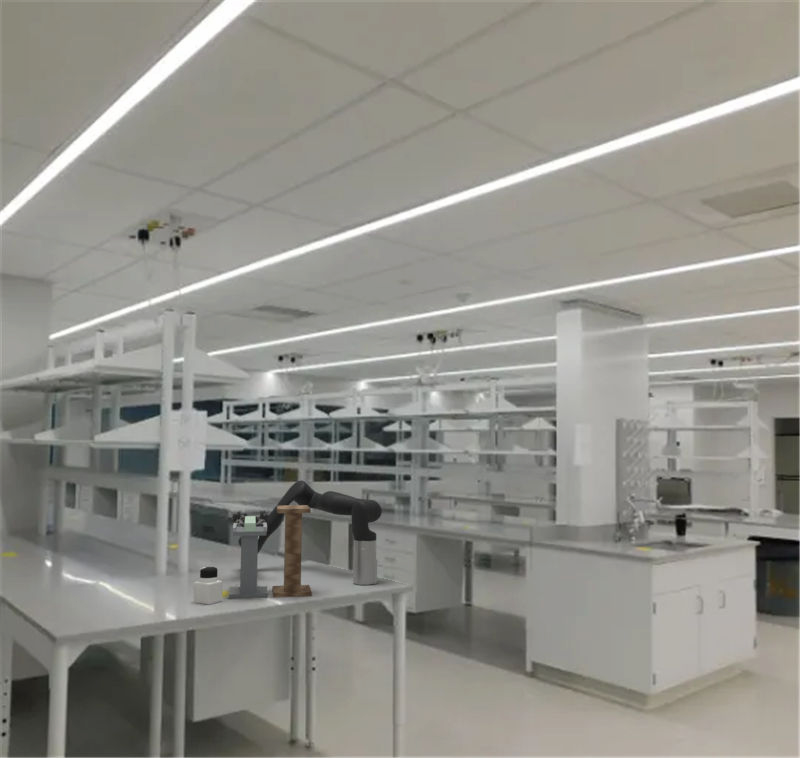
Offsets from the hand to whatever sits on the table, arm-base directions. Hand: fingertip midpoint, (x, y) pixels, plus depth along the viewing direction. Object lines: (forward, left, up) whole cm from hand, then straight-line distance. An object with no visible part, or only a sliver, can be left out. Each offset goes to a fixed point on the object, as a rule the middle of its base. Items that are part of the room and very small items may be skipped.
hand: (250, 512), depth 299 cm
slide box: (0, +17, -4) cm, 17 cm away
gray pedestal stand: (0, +22, -28) cm, 36 cm away
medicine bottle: (+14, +33, -28) cm, 46 cm away
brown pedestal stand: (-16, +22, -28) cm, 39 cm away
